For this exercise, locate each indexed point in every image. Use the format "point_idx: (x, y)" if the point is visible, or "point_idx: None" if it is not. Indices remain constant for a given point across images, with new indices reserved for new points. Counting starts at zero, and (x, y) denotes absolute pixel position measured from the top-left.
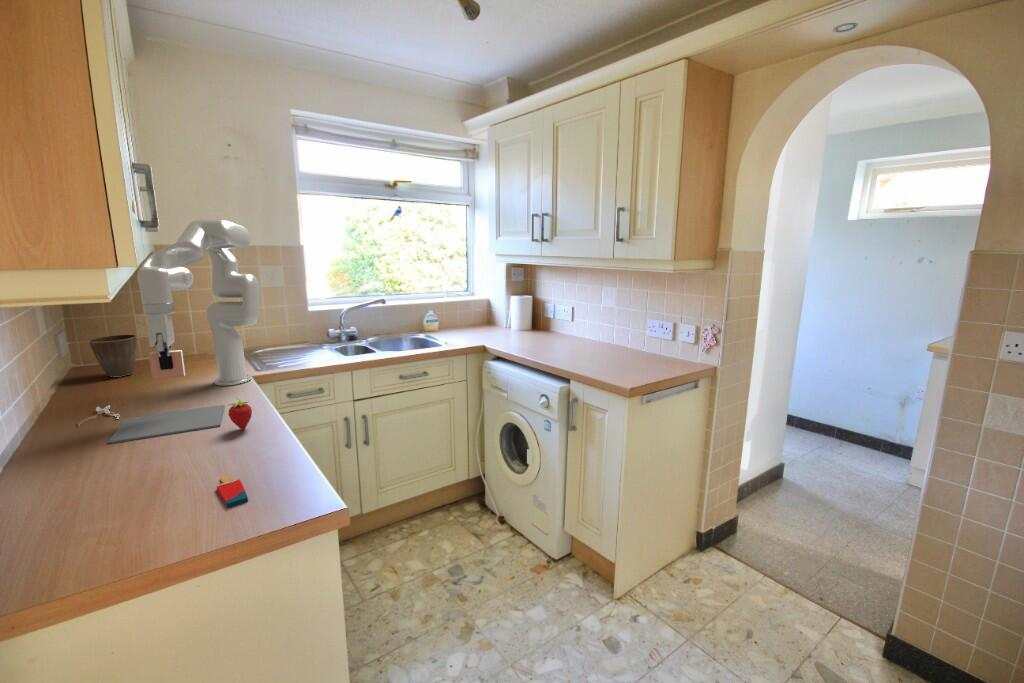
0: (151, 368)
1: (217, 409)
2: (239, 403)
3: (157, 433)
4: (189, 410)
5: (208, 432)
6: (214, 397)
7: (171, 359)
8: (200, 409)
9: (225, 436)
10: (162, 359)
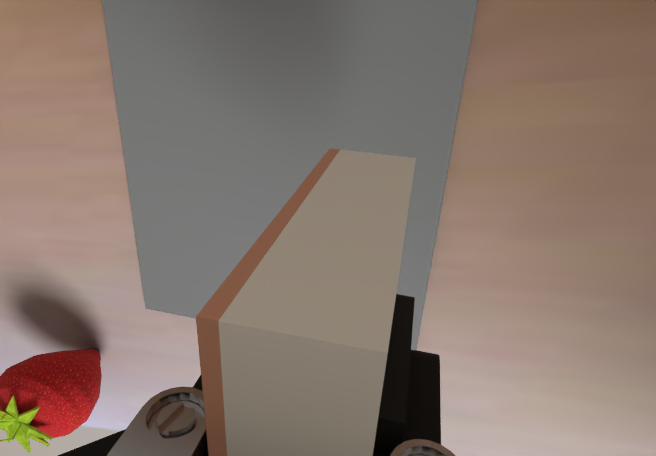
0: (294, 198)
1: None
2: (20, 426)
3: (127, 102)
4: (415, 228)
5: (104, 266)
6: (636, 345)
7: None
8: (399, 272)
9: (51, 303)
10: (199, 388)
